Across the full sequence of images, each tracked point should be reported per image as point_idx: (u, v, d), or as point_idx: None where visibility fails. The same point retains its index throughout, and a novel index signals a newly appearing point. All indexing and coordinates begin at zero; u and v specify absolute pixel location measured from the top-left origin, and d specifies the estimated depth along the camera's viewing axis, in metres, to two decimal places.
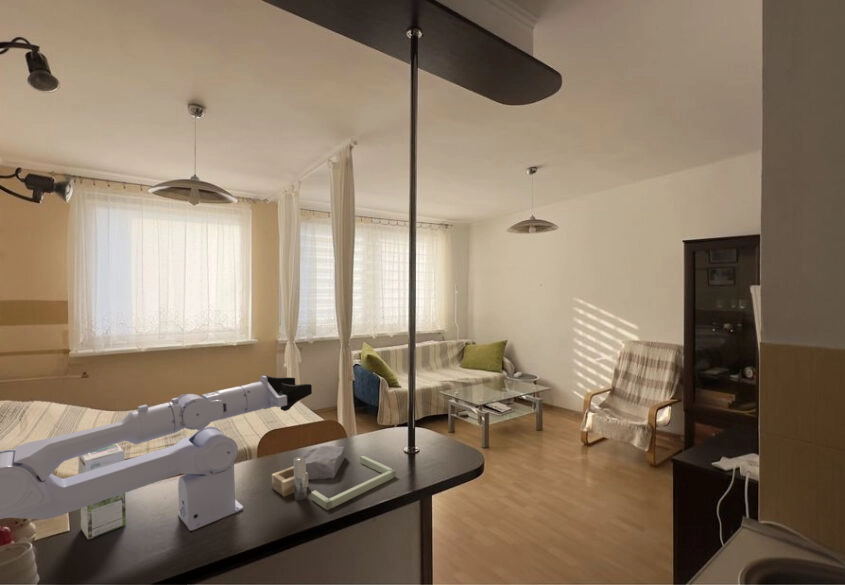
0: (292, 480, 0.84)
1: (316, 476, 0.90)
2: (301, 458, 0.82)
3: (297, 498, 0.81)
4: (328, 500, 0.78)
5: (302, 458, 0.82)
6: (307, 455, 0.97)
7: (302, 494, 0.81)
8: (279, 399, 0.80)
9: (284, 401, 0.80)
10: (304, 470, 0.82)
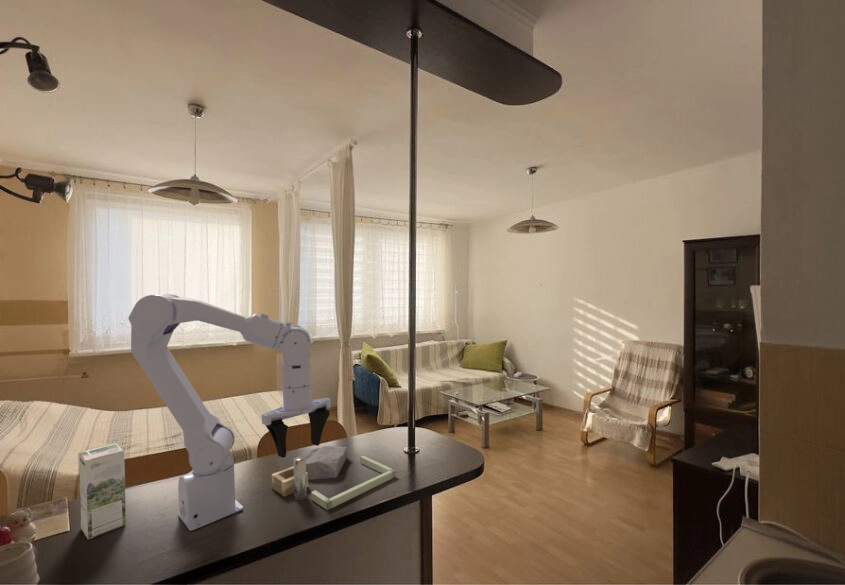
0: (292, 480, 0.84)
1: (318, 476, 0.90)
2: (301, 458, 0.82)
3: (297, 498, 0.81)
4: (328, 500, 0.78)
5: (302, 458, 0.82)
6: (309, 455, 0.97)
7: (302, 494, 0.81)
8: (265, 417, 0.76)
9: (263, 421, 0.77)
10: (304, 470, 0.82)
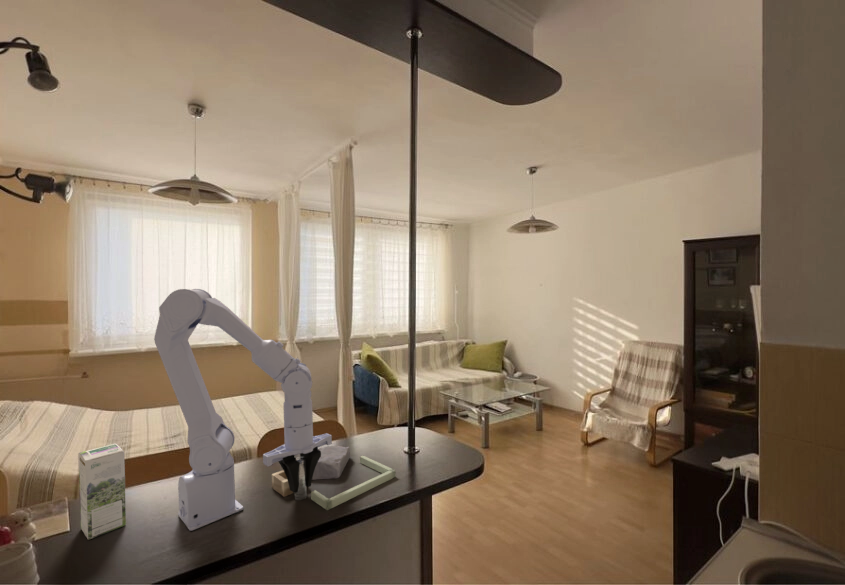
0: None
1: (321, 476, 0.90)
2: (301, 458, 0.82)
3: (297, 498, 0.81)
4: (328, 500, 0.78)
5: (302, 458, 0.82)
6: None
7: (302, 494, 0.81)
8: (266, 458, 0.76)
9: (265, 462, 0.77)
10: (304, 470, 0.82)
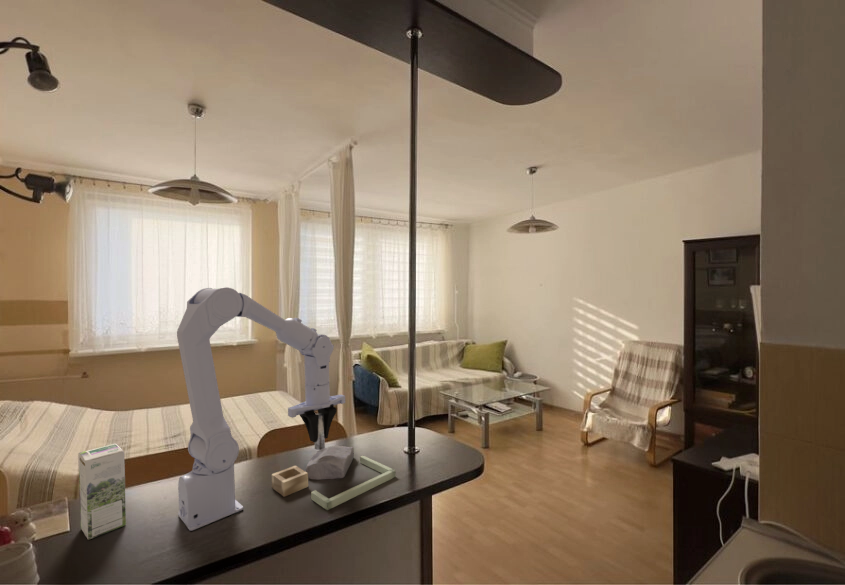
0: (292, 480, 0.84)
1: (326, 476, 0.90)
2: (320, 414, 0.96)
3: (316, 448, 0.94)
4: (328, 500, 0.78)
5: (321, 414, 0.95)
6: (316, 455, 0.97)
7: (320, 445, 0.94)
8: (291, 410, 0.90)
9: (289, 414, 0.90)
10: (322, 424, 0.95)
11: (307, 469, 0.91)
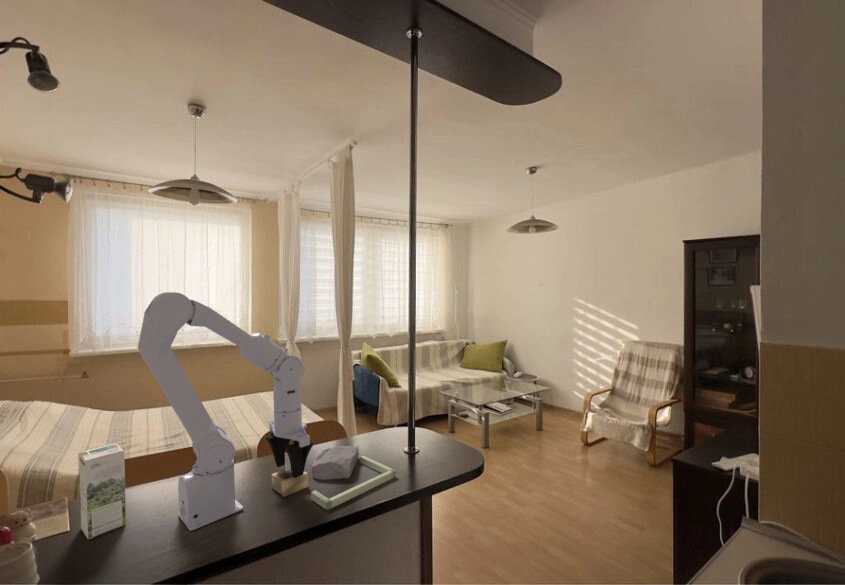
0: (292, 480, 0.84)
1: (331, 476, 0.90)
2: None
3: None
4: (328, 500, 0.78)
5: None
6: (321, 455, 0.97)
7: None
8: (307, 437, 0.82)
9: (305, 443, 0.81)
10: None
11: (312, 469, 0.91)
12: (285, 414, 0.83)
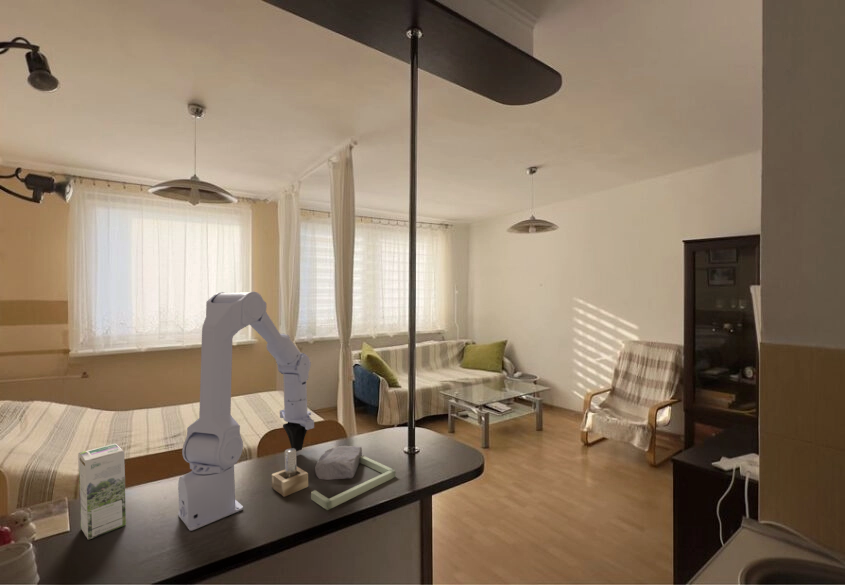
0: (292, 480, 0.84)
1: (335, 476, 0.90)
2: (289, 449, 0.87)
3: None
4: (328, 500, 0.78)
5: (290, 449, 0.87)
6: (324, 455, 0.97)
7: None
8: (312, 422, 0.99)
9: (310, 426, 0.98)
10: None
11: (316, 469, 0.91)
12: (293, 403, 1.00)
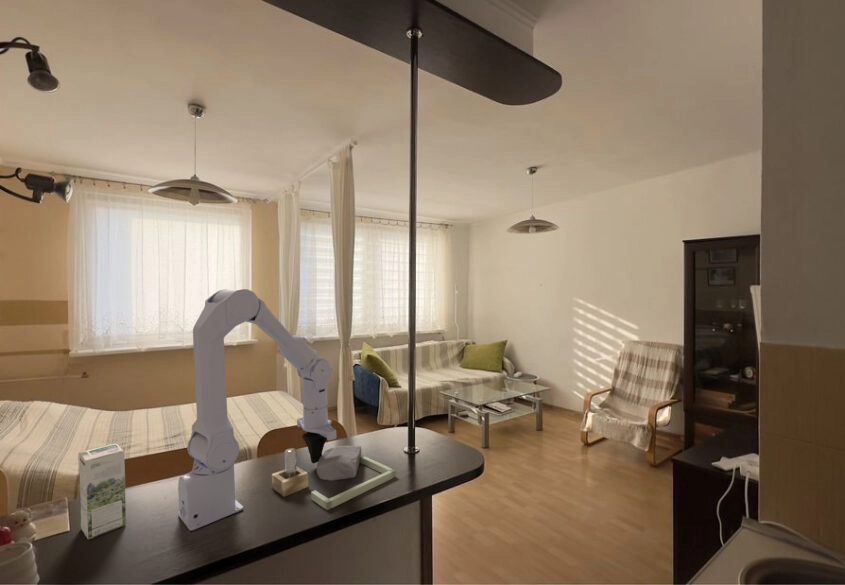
0: (292, 480, 0.84)
1: (337, 476, 0.90)
2: (289, 449, 0.87)
3: None
4: (328, 500, 0.78)
5: (290, 449, 0.87)
6: (324, 455, 0.96)
7: None
8: (334, 432, 0.91)
9: (332, 437, 0.91)
10: None
11: (318, 469, 0.90)
12: (314, 411, 0.93)
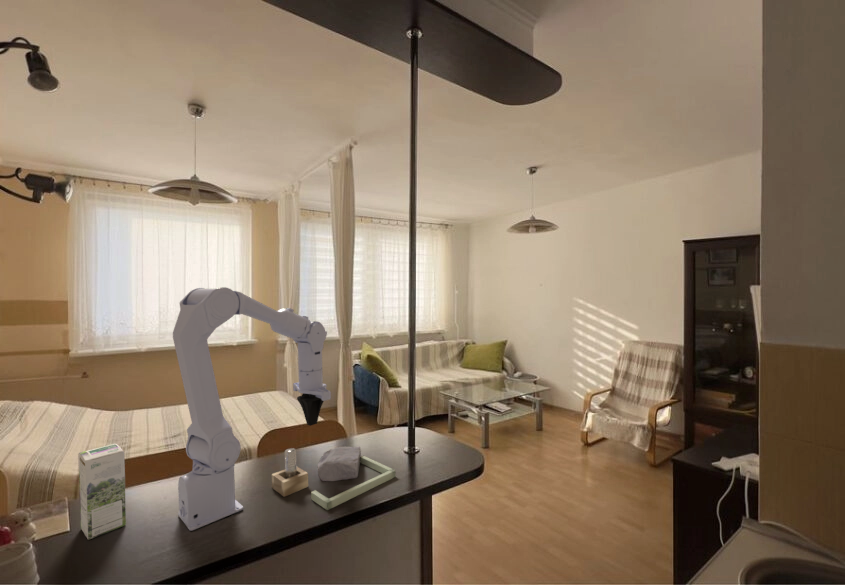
0: (292, 480, 0.84)
1: (339, 477, 0.89)
2: (289, 449, 0.87)
3: None
4: (328, 500, 0.78)
5: (290, 449, 0.87)
6: (324, 457, 0.96)
7: None
8: (329, 392, 0.93)
9: (327, 397, 0.92)
10: None
11: (319, 471, 0.89)
12: (309, 373, 0.95)
